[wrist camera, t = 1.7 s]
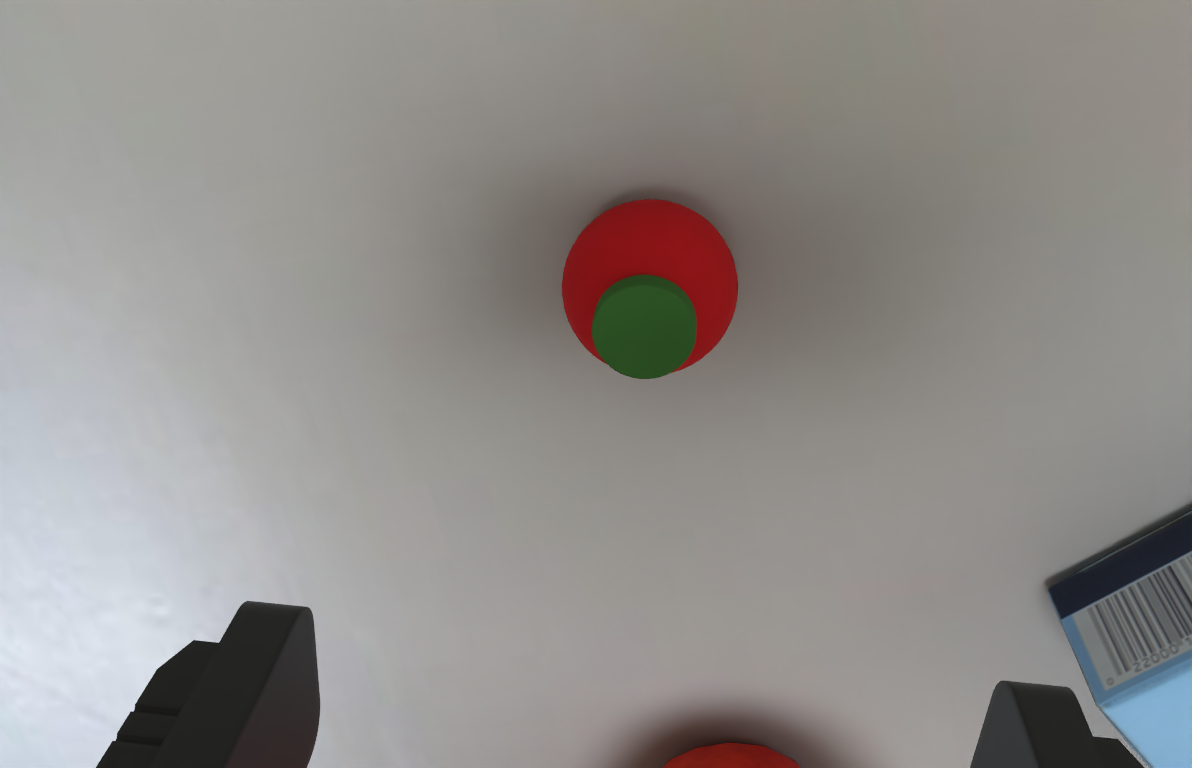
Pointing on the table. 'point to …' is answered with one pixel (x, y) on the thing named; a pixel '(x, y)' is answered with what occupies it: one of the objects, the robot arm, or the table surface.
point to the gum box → (1138, 640)
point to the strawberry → (649, 287)
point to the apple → (731, 757)
